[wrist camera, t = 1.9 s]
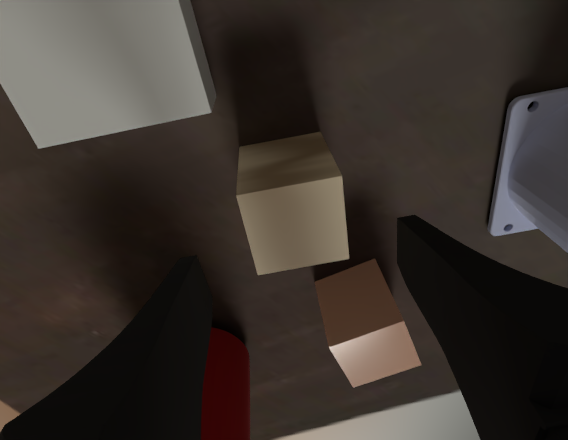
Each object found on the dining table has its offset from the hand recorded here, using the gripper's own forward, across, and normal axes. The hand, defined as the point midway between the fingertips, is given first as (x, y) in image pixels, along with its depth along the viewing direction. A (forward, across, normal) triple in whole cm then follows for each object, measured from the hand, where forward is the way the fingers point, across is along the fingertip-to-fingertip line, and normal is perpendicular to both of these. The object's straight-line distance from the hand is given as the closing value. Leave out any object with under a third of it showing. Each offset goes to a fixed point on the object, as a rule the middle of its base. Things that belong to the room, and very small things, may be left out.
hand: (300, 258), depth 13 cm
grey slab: (+7, +6, -8) cm, 12 cm away
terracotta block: (+7, -3, +9) cm, 12 cm away
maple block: (+7, 0, 0) cm, 7 cm away
